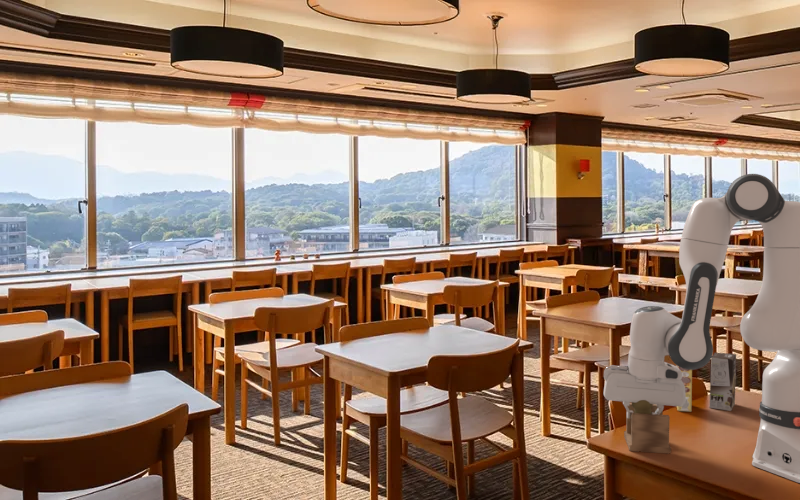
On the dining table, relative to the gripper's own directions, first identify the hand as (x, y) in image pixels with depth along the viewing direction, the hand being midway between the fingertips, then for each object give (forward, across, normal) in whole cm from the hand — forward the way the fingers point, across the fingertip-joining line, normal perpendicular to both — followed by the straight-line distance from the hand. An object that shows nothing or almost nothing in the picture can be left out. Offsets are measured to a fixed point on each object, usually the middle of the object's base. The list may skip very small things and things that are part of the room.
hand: (642, 418), depth 177 cm
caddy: (+7, +2, 0) cm, 7 cm away
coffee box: (+6, +30, +40) cm, 51 cm away
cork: (+5, +1, 0) cm, 5 cm away
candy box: (+7, +18, +36) cm, 41 cm away
